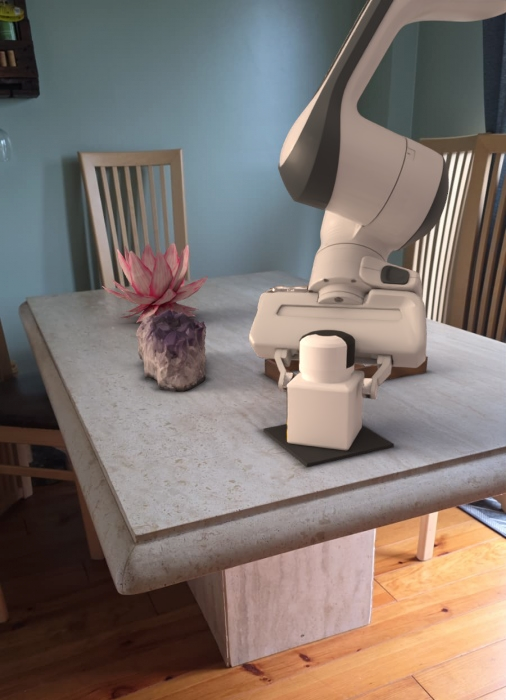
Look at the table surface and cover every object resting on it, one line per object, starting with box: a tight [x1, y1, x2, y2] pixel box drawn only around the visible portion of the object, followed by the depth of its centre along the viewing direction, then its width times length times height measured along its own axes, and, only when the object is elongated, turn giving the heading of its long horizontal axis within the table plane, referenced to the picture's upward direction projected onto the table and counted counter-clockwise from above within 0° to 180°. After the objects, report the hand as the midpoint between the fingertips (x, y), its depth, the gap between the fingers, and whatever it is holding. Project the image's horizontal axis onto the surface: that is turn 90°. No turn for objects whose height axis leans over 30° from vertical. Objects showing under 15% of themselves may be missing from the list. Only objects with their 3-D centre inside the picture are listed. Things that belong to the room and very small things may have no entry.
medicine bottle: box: [286, 330, 364, 451], centre depth 69 cm, size 7×7×12 cm
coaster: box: [262, 423, 395, 468], centre depth 72 cm, size 11×11×1 cm
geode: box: [136, 310, 207, 392], centre depth 96 cm, size 20×12×10 cm, turn 14°
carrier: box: [264, 355, 429, 384], centre depth 94 cm, size 22×11×2 cm, turn 114°
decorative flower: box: [101, 242, 209, 324], centre depth 130 cm, size 21×21×15 cm
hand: (326, 393), depth 69 cm, fingers open, 8 cm apart
